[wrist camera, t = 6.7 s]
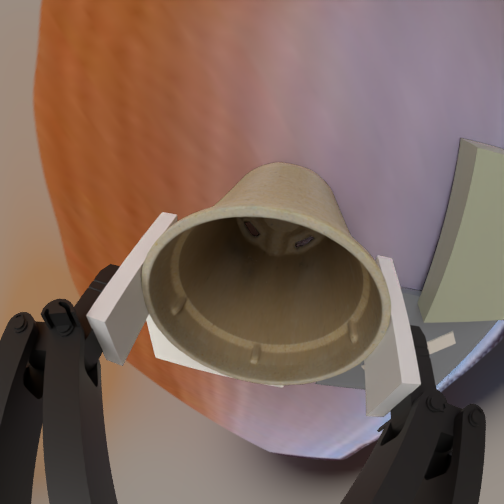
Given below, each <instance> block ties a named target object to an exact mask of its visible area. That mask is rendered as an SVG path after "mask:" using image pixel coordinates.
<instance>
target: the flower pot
mask: <svg viewBox="0 0 504 504" xmlns="http://www.w3.org/2000/svg"><path fill="white" fill-rule="evenodd" d="M248 221H249V222H250V223H251V224H252V225H253V226H254V227H255V229H256V230H257V231H258V233H260V234H259V235H258V236H256V237H255V236H253V235H252V234H251V233H250V232H249V230H248V228H247V227H246V225H245V222H248ZM310 236H312V237H313V238H314V239H312V240H311V241H310V242H309V243H307V244H305V245H304V246H301V247H295V245H296V243H297V242H299V241H302V240H304V239H306V238H308V237H310ZM141 284H142V291H143V297H144V301H145V305H146V308H147V310H148V312H149V314H150V316H151V318H152V320H153V322H154V323H155V325H156V326H157V328H158V329H159V330H160V331H161V332H162V334H163V335H164V336H165V337H166V338H167V340H168V341H170V342H171V344H173V345H174V346H175V347H176V348H178V349H179V350H180V351H181V352H183V353H184V354H186V355H187V356H189V357H190V358H191V359H193V360H194V361H197V362H198V363H200V364H202V365H204V366H205V367H208V368H210V369H212V370H214V371H217V372H219V373H221V374H224V375H226V376H229V377H232V378H235V379H240V380H244V381H247V382H251V383H258V384H267V385H300V384H306V383H312V382H317V381H322V380H324V379H328V378H331V377H334V376H337V375H339V374H342V373H344V372H346V371H348V370H350V369H351V368H353V367H355V366H357V365H359V364H360V363H361V362H362V361H363V360H364V359H366V358H367V357H368V356H369V355H370V354H371V353H372V352H373V351H374V350H375V348H376V347H377V346H378V344H379V343H380V342H381V340H382V339H383V337H384V335H385V333H386V331H387V328H388V326H389V322H390V316H391V299H390V294H389V290H388V287H387V283H386V280H385V278H384V276H383V273H382V272H381V270H380V268H379V266H378V265H377V263H376V262H375V260H374V259H373V258H372V256H371V255H370V254H369V253H368V252H367V251H366V250H365V249H364V248H363V247H362V246H361V245H360V244H359V243H358V242H357V241H356V240H355V239H353V237H352V236H351V235H350V233H349V230H348V228H347V226H346V223H345V221H344V219H343V217H342V214H341V212H340V209H339V207H338V204H337V202H336V200H335V197H334V194H333V192H332V190H331V189H330V187H329V186H328V185H327V183H326V182H325V181H324V180H323V179H322V178H321V177H320V176H319V175H317V174H316V173H315V172H313V171H311V170H309V169H307V168H304V167H301V166H298V165H294V164H289V163H282V162H279V163H270V164H266V165H263V166H260V167H258V168H256V169H254V170H252V171H251V172H249V173H248V174H247V175H245V176H244V177H243V178H242V179H241V180H240V182H238V183H237V184H236V185H235V186H234V187H233V188H232V189H231V190H230V191H229V192H228V193H227V194H226V195H225V196H224V197H223V198H222V199H221V200H220V201H219V202H218V203H217V204H215V205H214V206H213V207H211V208H207V209H204V210H201V211H198V212H196V213H193V214H191V215H189V216H187V217H185V218H183V219H181V220H180V221H178V222H176V223H175V224H173V225H172V226H171V227H169V228H168V229H167V230H166V231H165V232H164V233H163V234H162V235H161V236H160V237H159V238H158V239H157V240H156V242H155V243H154V244H153V246H152V247H151V249H150V250H149V252H148V253H147V256H146V258H145V261H144V263H143V269H142V274H141Z"/></svg>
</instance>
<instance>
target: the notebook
mask: <svg viewBox="0 0 504 504" xmlns="http://www.w3.org/2000/svg"><path fill="white" fill-rule="evenodd" d="M418 306H419V309H420V312H421V315H422V318H423V322H424V323H437V322H472V321H492V320H504V149H501V148H498V147H494V146H491V145H487V144H483V143H480V142H476V141H472V140H468V139H463V138H461V140H460V147H459V154H458V160H457V166H456V171H455V176H454V182H453V186H452V191H451V196H450V200H449V204H448V208H447V213H446V216H445V220H444V224H443V228H442V231H441V235H440V238H439V242H438V245H437V248H436V252H435V255H434V258H433V261H432V264H431V267H430V270H429V273H428V276H427V279H426V281H425V284H424V287H423V290H422V292H421V295H420V298H419V300H418Z"/></svg>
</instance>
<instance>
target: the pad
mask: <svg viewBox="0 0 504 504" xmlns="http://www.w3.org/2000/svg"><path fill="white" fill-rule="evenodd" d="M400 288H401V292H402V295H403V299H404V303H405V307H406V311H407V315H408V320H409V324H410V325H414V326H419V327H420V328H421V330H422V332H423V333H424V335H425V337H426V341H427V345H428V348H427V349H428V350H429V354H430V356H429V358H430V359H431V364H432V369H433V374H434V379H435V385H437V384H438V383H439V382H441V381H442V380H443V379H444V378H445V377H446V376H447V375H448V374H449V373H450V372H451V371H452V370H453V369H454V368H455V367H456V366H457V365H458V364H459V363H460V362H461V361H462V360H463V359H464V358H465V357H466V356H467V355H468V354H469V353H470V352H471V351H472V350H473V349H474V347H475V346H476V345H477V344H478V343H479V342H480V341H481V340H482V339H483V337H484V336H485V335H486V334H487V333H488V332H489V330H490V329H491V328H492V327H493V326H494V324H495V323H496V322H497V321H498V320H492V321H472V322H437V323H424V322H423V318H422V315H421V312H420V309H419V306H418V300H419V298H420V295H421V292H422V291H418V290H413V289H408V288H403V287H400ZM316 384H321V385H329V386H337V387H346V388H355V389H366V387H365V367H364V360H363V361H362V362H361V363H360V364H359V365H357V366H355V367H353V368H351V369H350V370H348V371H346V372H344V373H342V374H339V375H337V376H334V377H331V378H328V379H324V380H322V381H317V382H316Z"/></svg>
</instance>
